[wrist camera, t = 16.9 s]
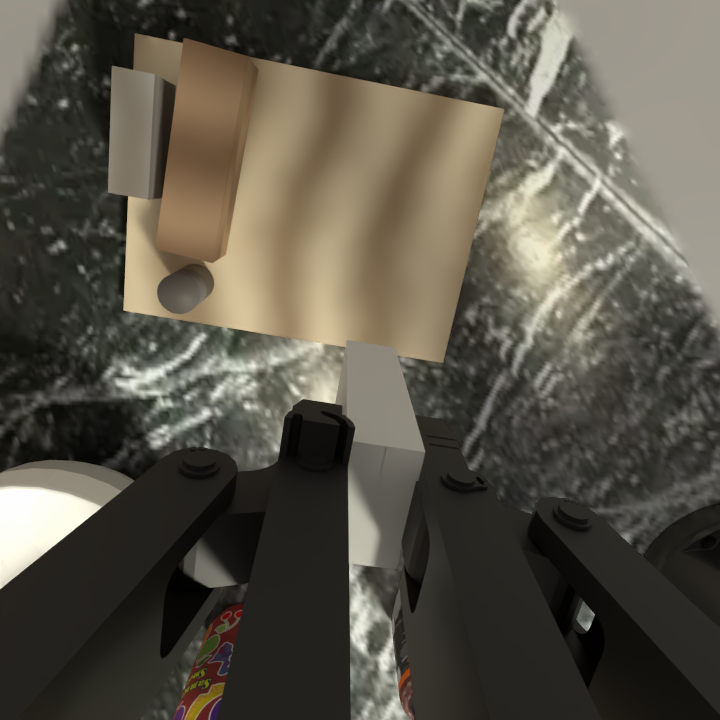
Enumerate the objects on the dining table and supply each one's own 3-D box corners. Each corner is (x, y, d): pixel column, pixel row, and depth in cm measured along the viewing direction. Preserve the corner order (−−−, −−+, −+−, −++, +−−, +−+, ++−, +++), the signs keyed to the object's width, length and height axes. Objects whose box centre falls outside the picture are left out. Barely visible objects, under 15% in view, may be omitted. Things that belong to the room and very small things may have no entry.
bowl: (-57, 454, 44) (-151, 518, 36) (163, 404, 43) (120, 458, 35) (39, 629, 50) (-22, 719, 42) (234, 589, 49) (211, 673, 41)
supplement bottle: (378, 624, 50) (387, 744, 40) (410, 578, 49) (428, 690, 38) (432, 646, 52) (455, 769, 41) (465, 602, 50) (498, 718, 39)
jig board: (499, 111, 36) (525, 99, 31) (440, 357, 42) (453, 383, 37) (141, 38, 35) (104, 12, 29) (129, 306, 40) (96, 326, 35)
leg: (225, 254, 38) (212, 263, 34) (174, 241, 37) (155, 248, 33) (258, 69, 34) (247, 56, 30) (202, 53, 34) (183, 37, 30)
